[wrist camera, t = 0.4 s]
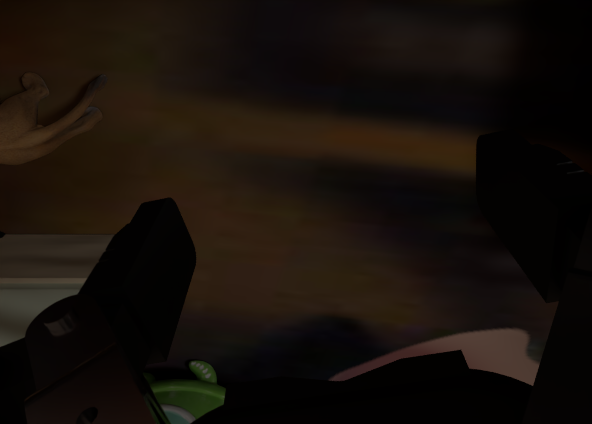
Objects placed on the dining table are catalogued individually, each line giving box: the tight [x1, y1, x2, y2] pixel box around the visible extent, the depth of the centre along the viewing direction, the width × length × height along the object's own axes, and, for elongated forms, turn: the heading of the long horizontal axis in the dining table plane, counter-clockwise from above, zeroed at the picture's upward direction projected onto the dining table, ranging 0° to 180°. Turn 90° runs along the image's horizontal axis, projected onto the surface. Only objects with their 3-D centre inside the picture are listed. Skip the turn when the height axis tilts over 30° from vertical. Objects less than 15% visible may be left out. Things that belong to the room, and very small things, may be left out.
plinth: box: [0, 234, 114, 347], centre depth 34 cm, size 9×13×6 cm
